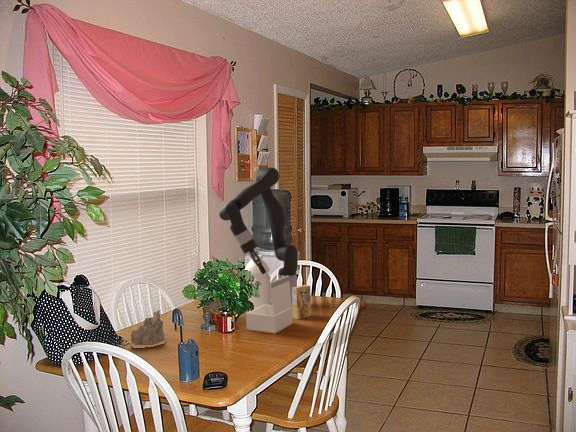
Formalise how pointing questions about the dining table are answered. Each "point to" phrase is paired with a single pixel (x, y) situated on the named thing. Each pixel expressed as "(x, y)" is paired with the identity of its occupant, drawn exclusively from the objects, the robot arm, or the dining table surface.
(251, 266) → the bottle
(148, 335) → the grey rock
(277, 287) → the lid
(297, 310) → the candy box
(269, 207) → the robot arm
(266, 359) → the dining table surface
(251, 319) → the box
